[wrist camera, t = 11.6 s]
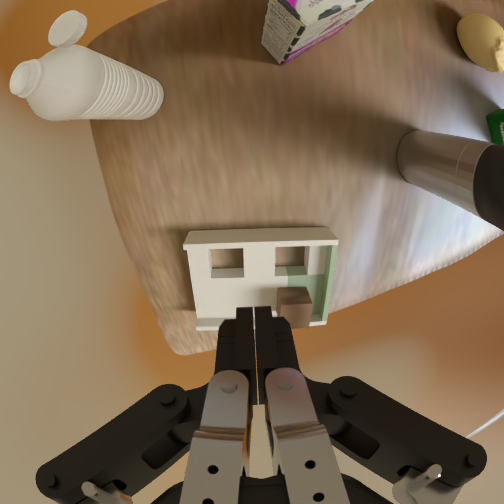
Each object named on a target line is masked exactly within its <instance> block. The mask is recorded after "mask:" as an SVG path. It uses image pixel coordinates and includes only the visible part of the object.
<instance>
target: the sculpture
mask: <svg viewBox="0 0 504 504" xmlns="http://www.w3.org/2000/svg"><path fill="white" fill-rule="evenodd" d="M457 35H458V39H459V41H460V44H461V46H462V48H463V50H464V52H465V53H466V55H467V56H468V57H469V58H470V59H471V60H472V61H473V62H474V63H476V64H477V65H479V66H481V67H483V68H485V69H486V70H487V71H490V72H498V73H499V72H503V71H504V30H503V29H502V27H501V26H500V25H499V24H498V23H497V22H496V21H494V20H493V19H492V18H490V17H488V16H486V15H483V14H469V15H466V16H464V17H463V18H462V19H461V20H460V21H459V23H458V25H457Z"/></svg>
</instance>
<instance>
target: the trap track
mask: <svg viewBox="0 0 504 504" xmlns="http://www.w3.org/2000/svg"><path fill="white" fill-rule="evenodd" d="M290 246H305V254H304V266H280V267H275V247H290ZM228 248H243V255H244V268H221V269H212V258H211V249H228ZM337 248H338V239H337V237H336V236H335V235H334V234H333V232H332V231H331V230H330V229H329V227H297V228H257V229H227V230H202V231H189V233H188V235H187V237H186V239H185V241H184V243H183V249H184V250H187V254H188V261H189V268H190V275H191V282H192V289H193V295H194V301H195V307H196V313H197V324H196V330H219V326H220V325H221V324H222V322H223V321H224V319H236V307H253V320H254V329H255V313H254V307H255V306H271V310H272V317H277V313H276V306H277V289H278V288H280V287H307V290H308V292H309V295H310V298H311V300H312V303H313V305H312V312H311V318H310V324H309V326H315V325H325V324H326V321H327V316H328V310H329V304H330V298H331V292H332V285H333V278H334V271H335V264H336V256H337Z"/></svg>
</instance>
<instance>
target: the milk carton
mask: <svg viewBox="0 0 504 504" xmlns="http://www.w3.org/2000/svg"><path fill="white" fill-rule="evenodd" d="M486 117H487V120H488V124H489V128H490V132H491V137H492V141H493V143H494V144H498V145H502V146H504V109H501V110H499V111H497V112H495V113H492V114H490V115H488V116H486Z"/></svg>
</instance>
